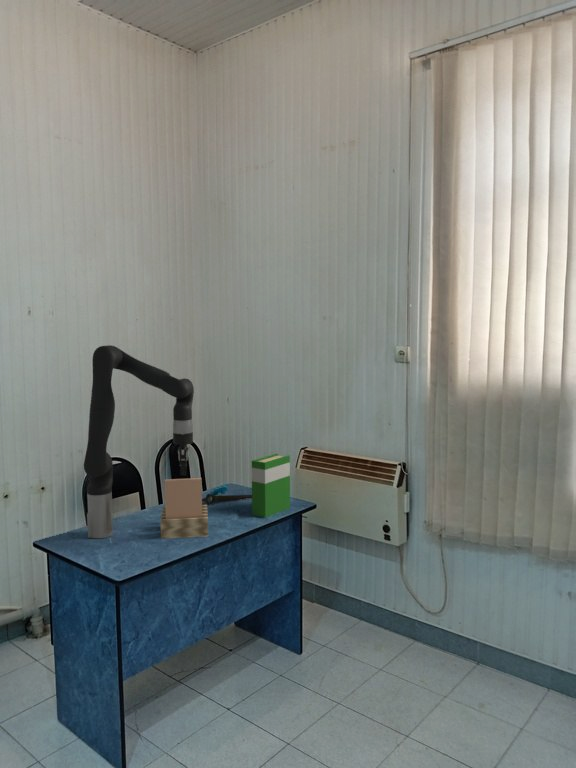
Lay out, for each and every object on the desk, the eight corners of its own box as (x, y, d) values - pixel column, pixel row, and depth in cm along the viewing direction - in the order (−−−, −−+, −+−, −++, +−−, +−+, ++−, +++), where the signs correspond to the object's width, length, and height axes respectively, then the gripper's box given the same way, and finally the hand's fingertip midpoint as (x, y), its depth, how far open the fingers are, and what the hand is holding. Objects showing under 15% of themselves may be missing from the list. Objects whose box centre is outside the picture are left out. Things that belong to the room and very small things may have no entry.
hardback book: (276, 505, 292) (276, 453, 289) (289, 508, 288) (289, 455, 285) (252, 514, 278) (251, 460, 275) (265, 518, 274) (264, 463, 271)
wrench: (264, 503, 301) (204, 507, 288) (260, 501, 306) (200, 505, 293) (265, 492, 301) (204, 496, 288) (261, 490, 306) (200, 493, 293)
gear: (223, 492, 307) (228, 482, 300) (229, 503, 304) (234, 492, 297) (203, 499, 301) (207, 488, 294) (208, 510, 298) (213, 499, 291)
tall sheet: (166, 536, 247) (164, 480, 244) (166, 535, 248) (164, 479, 246) (202, 534, 249) (201, 478, 247) (202, 532, 251) (201, 477, 248)
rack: (160, 542, 244) (160, 520, 244) (163, 526, 263) (162, 506, 262) (208, 539, 247) (207, 518, 246) (207, 524, 266) (207, 504, 265)
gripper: (173, 428, 251) (174, 468, 252) (172, 434, 237) (173, 477, 238) (192, 427, 252) (193, 468, 254) (192, 434, 238) (193, 476, 239)
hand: (183, 472), depth 246 cm, fingers open, 8 cm apart
